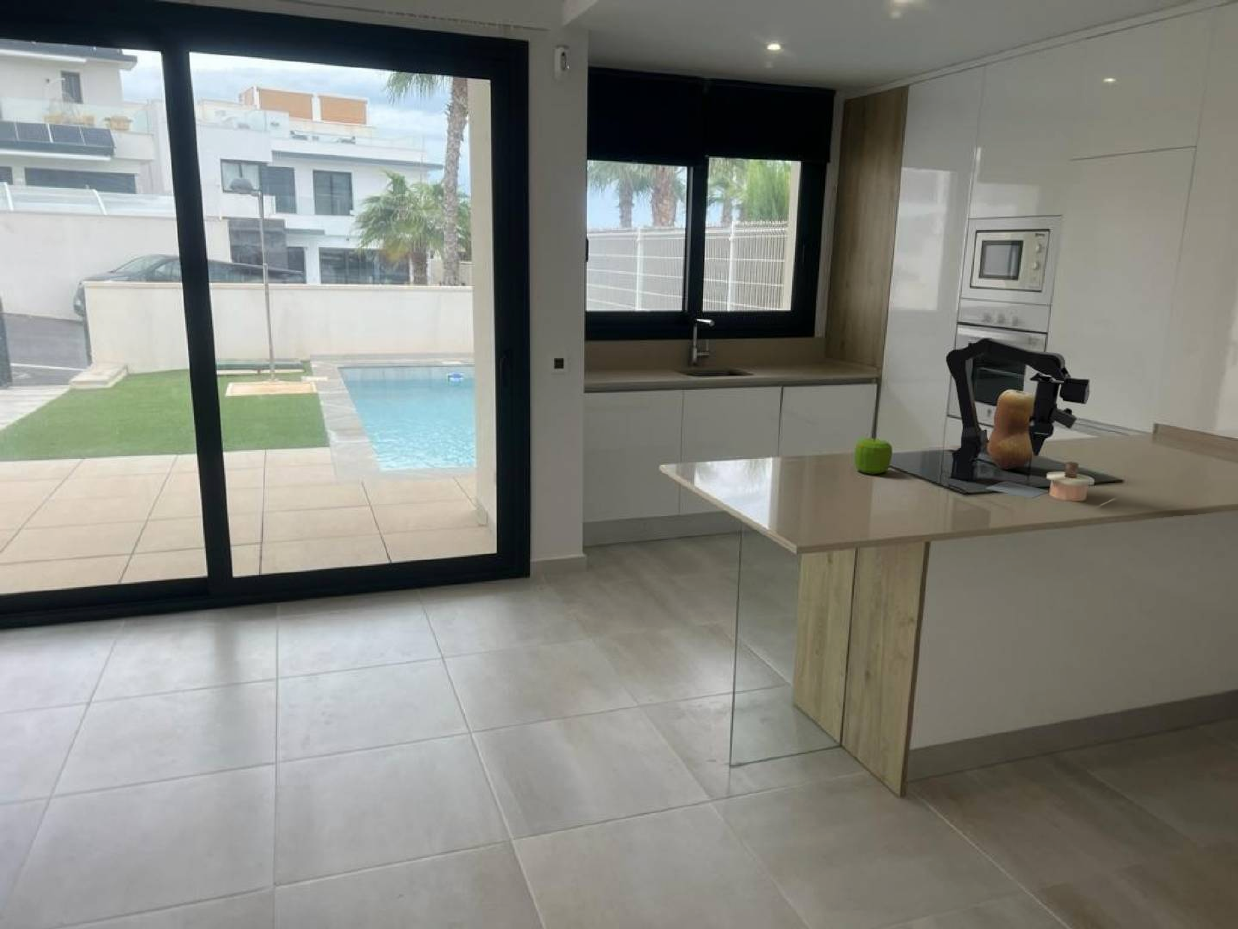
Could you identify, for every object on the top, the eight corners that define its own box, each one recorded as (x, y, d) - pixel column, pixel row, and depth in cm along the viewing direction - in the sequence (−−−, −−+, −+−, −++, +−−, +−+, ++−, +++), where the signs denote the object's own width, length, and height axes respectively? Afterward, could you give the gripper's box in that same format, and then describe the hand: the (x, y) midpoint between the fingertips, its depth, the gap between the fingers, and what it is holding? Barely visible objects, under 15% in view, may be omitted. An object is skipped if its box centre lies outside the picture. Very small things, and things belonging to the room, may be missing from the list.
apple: (897, 475, 269) (901, 440, 266) (866, 477, 265) (870, 441, 262) (875, 466, 279) (879, 432, 276) (845, 468, 275) (849, 433, 273)
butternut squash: (1036, 475, 275) (1048, 395, 269) (993, 473, 275) (1004, 393, 269) (1018, 464, 288) (1029, 388, 282) (976, 462, 289) (987, 386, 282)
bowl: (1044, 496, 251) (1047, 479, 250) (1057, 491, 257) (1059, 474, 256) (1077, 503, 245) (1080, 486, 243) (1089, 498, 251) (1092, 481, 249)
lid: (1039, 479, 250) (1042, 461, 249) (1056, 472, 258) (1059, 456, 257) (1084, 488, 241) (1087, 470, 240) (1100, 481, 249) (1103, 464, 248)
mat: (985, 489, 256) (985, 488, 256) (1004, 482, 265) (1005, 481, 265) (1030, 499, 247) (1030, 498, 247) (1049, 492, 256) (1049, 490, 256)
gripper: (1078, 407, 237) (1068, 463, 241) (1076, 397, 253) (1066, 450, 257) (1033, 402, 241) (1023, 457, 245) (1033, 392, 258) (1024, 444, 262)
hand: (1035, 452), depth 252 cm, fingers open, 9 cm apart
